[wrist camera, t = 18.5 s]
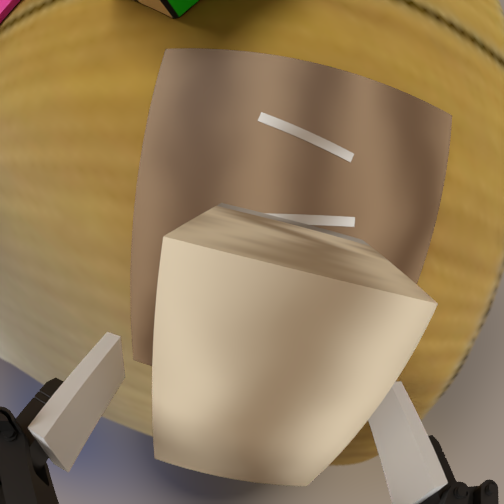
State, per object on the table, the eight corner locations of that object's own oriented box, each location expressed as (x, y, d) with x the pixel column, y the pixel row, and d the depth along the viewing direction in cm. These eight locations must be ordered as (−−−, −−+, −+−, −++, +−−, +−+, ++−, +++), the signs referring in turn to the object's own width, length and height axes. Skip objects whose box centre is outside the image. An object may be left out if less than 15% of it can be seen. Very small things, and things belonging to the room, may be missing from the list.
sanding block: (191, 368, 20) (154, 458, 11) (221, 202, 16) (163, 236, 7) (300, 392, 20) (306, 486, 11) (362, 239, 16) (437, 303, 7)
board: (138, 353, 21) (133, 360, 20) (170, 54, 14) (165, 48, 13) (358, 393, 21) (360, 401, 20) (444, 117, 14) (452, 115, 13)
